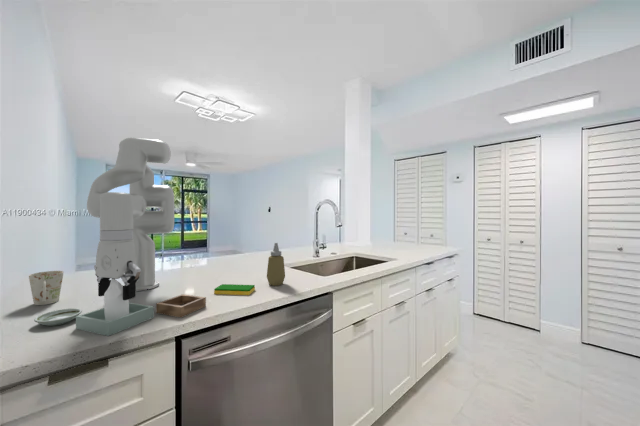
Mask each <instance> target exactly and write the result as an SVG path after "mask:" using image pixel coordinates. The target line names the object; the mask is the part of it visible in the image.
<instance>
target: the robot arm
mask: <svg viewBox="0 0 640 426" xmlns="http://www.w3.org/2000/svg"><path fill="white" fill-rule="evenodd" d="M171 156H172V155H171V147H170V146H169V144H168V143H167V142H165V141H162V140H159V139H153V138H152V139H150V138H142V137H127V138H124V139H123V140H121V141H120V142H119V143H118V152H117V157H116V160H115V165H114V167H112V168H110V169H107V170H105V172H103V173H102V174H100V175H99V176H98V177H96V178H95V179H94V181H93V182H92V184H91V185H90V190H89V192H88V197H87V200H86V210H87V212H88V213H89V215H90V216H91V217H94V218H99V241H98V245H97V248H96V249H97V250H96V258H95V264H94V265H93V268H94V271H95V276H96V282H97V288H98V291H97V292H98V295H97V296H98V297H104V293H105V292H106V291H107V289H108V288H109V286H110V282H111V279H115V280H119V279H121V281H122V282H123V284H124V285H123V300H128V299H129V300H131V299H134V298H136V295H137V294H136V293H137V292H139V291H142V292H143V291H148V290H152V289H154V288H155V289H156V288H158V287H159V286H160V281H158V280H156V244H155V241H154V240H153V239H152V238H151V237H150V236H149V235H151V234H170V233H172V232H173V231H174V229H175V193H174V190H173V189H172V187H171V186H169V185H164V184H163V185H160V184H159V185H158V184H155V172H154V171H153V169H151V167H150V166H149V165H148V164H147V163H153V164H154V163H155V164H156V163H157V164H168V163H169V161H170V160H171ZM127 185H129V193H128V192H121V191H120V192H117V191H116V192H114V191H112V190H114V189H117V188H120V187H123V186H127ZM148 208H150V209H151V208H152V209H153V208H155V209H157V208H160V209H161V210H147V209H148ZM147 289H148V290H147Z"/></svg>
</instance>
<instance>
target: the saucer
mask: <svg viewBox="0 0 640 426" xmlns="http://www.w3.org/2000/svg"><path fill="white" fill-rule="evenodd" d="M82 313H83V310H82V309H80V308H77V307H76V308H75V307H74V308H72V307H71V308H61V309H56V310H52V311H47V312H45V313H42V314H40V315H37V316H36V317H34V319H33V320H34V322H35V323H37V324H39V325H41V326H49V327H50V326H51V327H53V326H59V325H63V324H67V323H69V322H71V321H72V320H74V319H76V316H79V315H81V314H82Z"/></svg>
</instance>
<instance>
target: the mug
mask: <svg viewBox="0 0 640 426" xmlns="http://www.w3.org/2000/svg"><path fill="white" fill-rule="evenodd" d="M63 277H64V271H63V270H50V271H49V270H47V271H41V272H35V273H30V274H29V275H28V279H29V286H30V291H31V296H32V303H33V306H44V305H49V304H54V303H56V302H59V300H60V296H61V289H62V283H63Z"/></svg>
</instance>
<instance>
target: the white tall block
mask: <svg viewBox="0 0 640 426" xmlns="http://www.w3.org/2000/svg"><path fill="white" fill-rule="evenodd" d="M110 280H111V282H110V286H109V288H108V289H107V291H106V292H105V293H104V296H103V301H104V302H103V303H104V305H103V308H104V314H105V320H106V321H112V320H115V319H117V318H120V317H123V316H126V315H128V314H129V302H130V299H128V300H123V286H124V285H123V284H122V283H121V282H120V281H118V279H112V278H110Z"/></svg>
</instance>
